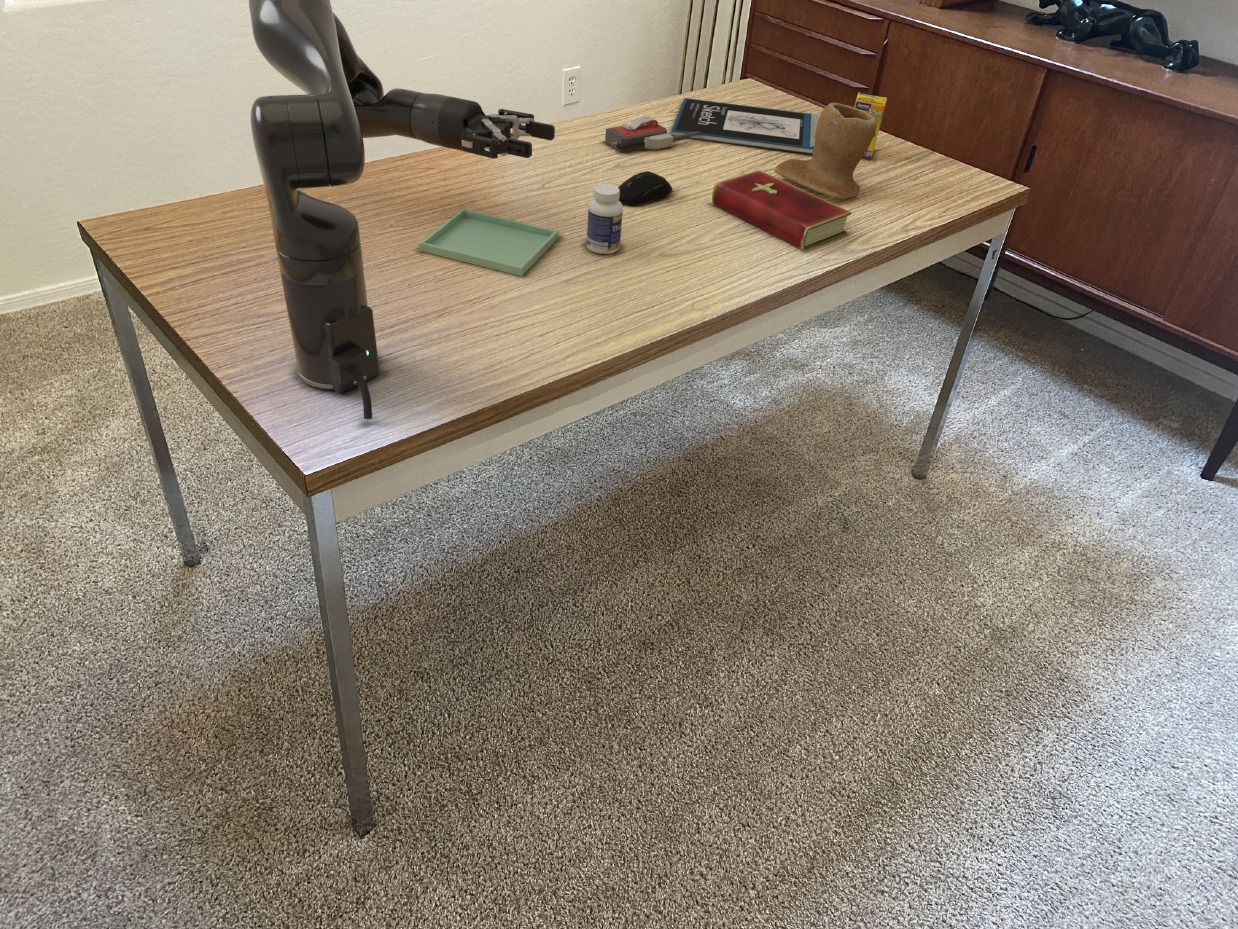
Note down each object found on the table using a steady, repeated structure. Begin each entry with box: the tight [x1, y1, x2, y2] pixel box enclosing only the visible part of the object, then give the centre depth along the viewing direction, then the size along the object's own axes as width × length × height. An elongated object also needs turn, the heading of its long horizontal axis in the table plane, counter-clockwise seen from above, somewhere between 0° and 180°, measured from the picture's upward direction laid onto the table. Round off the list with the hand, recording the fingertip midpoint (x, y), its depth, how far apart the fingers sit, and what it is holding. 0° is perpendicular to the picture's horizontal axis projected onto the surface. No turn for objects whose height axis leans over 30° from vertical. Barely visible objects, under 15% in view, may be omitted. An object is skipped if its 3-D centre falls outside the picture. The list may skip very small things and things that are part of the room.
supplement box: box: [853, 92, 888, 161], centre depth 181 cm, size 6×6×11 cm
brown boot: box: [773, 102, 877, 200], centre depth 165 cm, size 15×12×15 cm
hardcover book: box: [711, 169, 853, 252], centre depth 155 cm, size 12×21×4 cm, turn 42°
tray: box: [418, 208, 559, 277], centre depth 141 cm, size 17×14×1 cm
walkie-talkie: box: [604, 116, 700, 153], centre depth 179 cm, size 9×4×20 cm
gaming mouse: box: [617, 170, 673, 206], centre depth 158 cm, size 6×15×4 cm, turn 132°
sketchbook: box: [670, 97, 820, 156], centre depth 191 cm, size 22×30×2 cm
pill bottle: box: [586, 183, 624, 255], centre depth 140 cm, size 5×5×10 cm
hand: (542, 141), depth 136 cm, fingers open, 8 cm apart
